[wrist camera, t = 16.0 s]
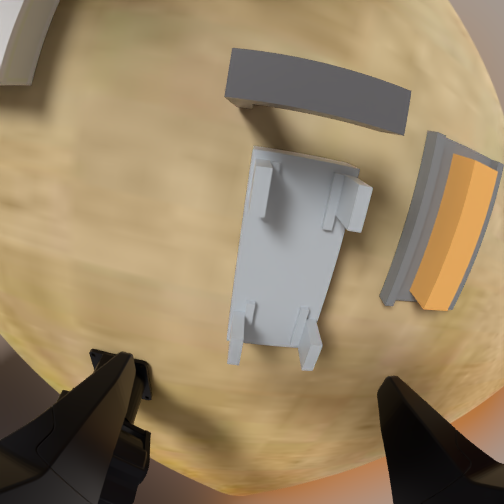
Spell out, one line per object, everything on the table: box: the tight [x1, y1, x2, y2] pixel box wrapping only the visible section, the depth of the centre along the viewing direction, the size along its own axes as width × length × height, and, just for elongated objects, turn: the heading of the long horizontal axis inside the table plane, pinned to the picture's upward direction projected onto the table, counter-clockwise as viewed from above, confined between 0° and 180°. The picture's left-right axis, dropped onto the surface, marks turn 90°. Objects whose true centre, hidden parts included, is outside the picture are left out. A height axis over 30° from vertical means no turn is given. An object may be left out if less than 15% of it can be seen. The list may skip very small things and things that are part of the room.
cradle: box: [227, 146, 373, 371], centre depth 19 cm, size 14×6×5 cm, turn 172°
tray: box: [380, 131, 504, 310], centre depth 20 cm, size 14×8×1 cm, turn 172°
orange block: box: [409, 153, 498, 311], centre depth 19 cm, size 12×3×3 cm, turn 172°
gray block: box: [225, 48, 411, 136], centre depth 13 cm, size 2×7×8 cm, turn 82°
